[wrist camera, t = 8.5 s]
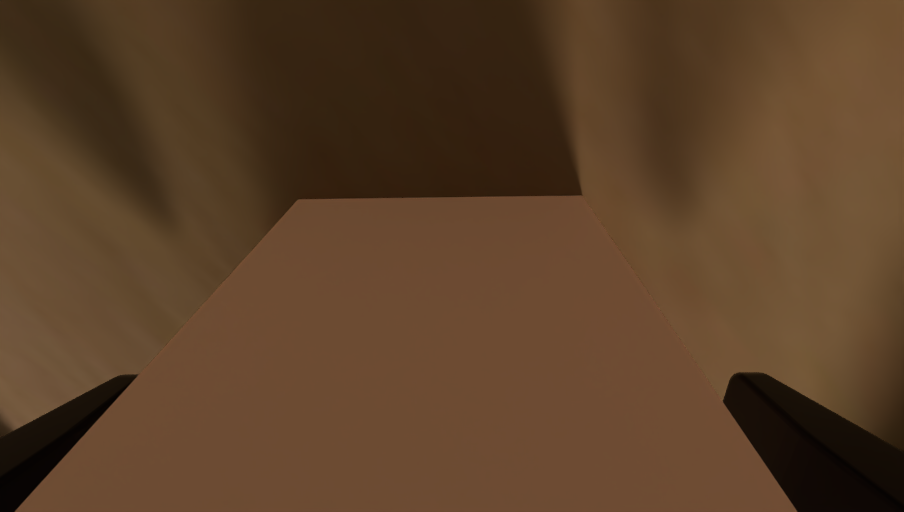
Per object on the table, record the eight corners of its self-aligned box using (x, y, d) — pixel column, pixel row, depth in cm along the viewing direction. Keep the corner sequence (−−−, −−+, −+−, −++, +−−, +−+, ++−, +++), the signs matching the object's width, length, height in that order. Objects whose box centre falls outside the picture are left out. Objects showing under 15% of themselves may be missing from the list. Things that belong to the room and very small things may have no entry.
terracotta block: (558, 407, 11) (659, 813, 5) (335, 407, 11) (207, 803, 5) (582, 194, 8) (802, 519, 3) (299, 198, 8) (8, 515, 3)
